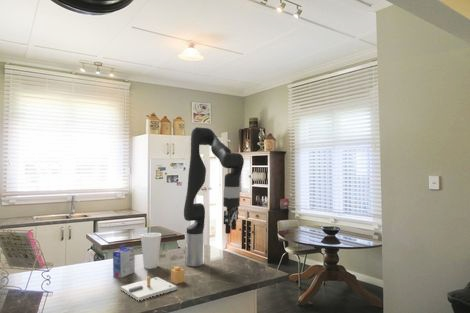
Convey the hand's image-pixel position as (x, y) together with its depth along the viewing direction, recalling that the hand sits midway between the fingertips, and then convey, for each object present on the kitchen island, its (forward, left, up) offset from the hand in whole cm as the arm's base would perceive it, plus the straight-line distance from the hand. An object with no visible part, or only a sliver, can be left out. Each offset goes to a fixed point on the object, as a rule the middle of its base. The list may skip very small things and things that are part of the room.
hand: (230, 231), depth 150 cm
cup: (-47, -14, -24) cm, 55 cm away
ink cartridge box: (-45, -30, -25) cm, 59 cm away
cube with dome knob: (-19, -16, -24) cm, 35 cm away
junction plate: (-19, -31, -24) cm, 44 cm away
